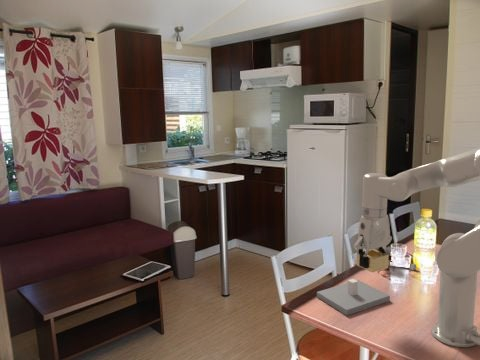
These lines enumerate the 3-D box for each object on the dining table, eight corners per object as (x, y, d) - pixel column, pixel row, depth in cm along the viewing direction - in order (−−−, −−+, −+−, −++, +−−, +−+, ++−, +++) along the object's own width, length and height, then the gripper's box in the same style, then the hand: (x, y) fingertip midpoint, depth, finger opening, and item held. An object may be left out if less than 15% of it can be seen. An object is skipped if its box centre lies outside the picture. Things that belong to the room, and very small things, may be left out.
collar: (388, 267, 134) (388, 254, 133) (372, 272, 131) (372, 259, 130) (371, 260, 140) (372, 248, 139) (356, 265, 137) (356, 252, 136)
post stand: (389, 300, 148) (390, 282, 147) (346, 315, 139) (346, 296, 138) (357, 284, 162) (358, 267, 161) (316, 297, 153) (316, 279, 152)
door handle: (378, 269, 191) (368, 261, 175) (379, 251, 193) (370, 242, 177) (419, 274, 182) (413, 266, 166) (420, 256, 184) (415, 247, 168)
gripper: (362, 219, 125) (360, 274, 128) (402, 210, 133) (400, 262, 136) (345, 213, 131) (344, 266, 135) (384, 205, 139) (382, 255, 143)
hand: (372, 264), depth 135 cm, fingers closed on collar, 7 cm apart
